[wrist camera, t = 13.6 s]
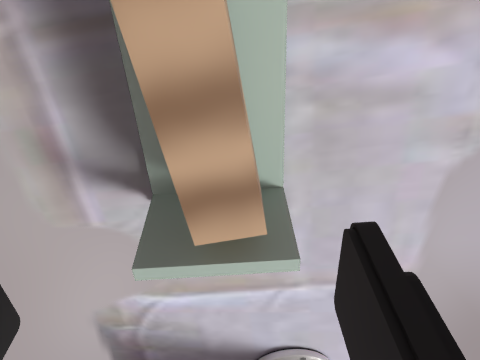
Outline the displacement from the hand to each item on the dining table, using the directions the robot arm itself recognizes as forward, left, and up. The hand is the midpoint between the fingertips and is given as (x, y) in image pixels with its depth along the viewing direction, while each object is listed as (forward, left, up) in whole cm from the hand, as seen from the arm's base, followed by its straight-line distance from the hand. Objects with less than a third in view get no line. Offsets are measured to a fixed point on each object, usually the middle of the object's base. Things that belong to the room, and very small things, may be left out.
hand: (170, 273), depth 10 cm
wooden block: (0, 0, -18) cm, 18 cm away
